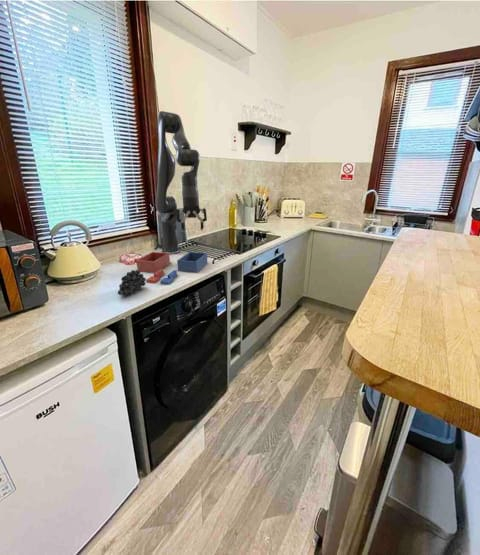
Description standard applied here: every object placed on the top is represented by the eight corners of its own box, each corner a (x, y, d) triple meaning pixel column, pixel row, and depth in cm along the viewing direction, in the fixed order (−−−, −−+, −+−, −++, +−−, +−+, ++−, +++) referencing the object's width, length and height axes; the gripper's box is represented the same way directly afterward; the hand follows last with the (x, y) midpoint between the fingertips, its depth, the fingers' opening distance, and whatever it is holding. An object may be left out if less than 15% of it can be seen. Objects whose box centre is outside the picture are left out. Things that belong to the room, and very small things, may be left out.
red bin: (137, 270, 139) (136, 260, 137) (153, 261, 152) (152, 251, 150) (155, 272, 136) (154, 261, 134) (170, 262, 150) (169, 253, 148)
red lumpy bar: (154, 282, 124) (153, 277, 123) (146, 282, 125) (146, 276, 124) (166, 274, 134) (165, 269, 133) (159, 273, 135) (158, 268, 134)
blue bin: (178, 270, 139) (177, 260, 137) (190, 261, 152) (189, 251, 150) (196, 272, 136) (196, 261, 134) (207, 263, 150) (207, 253, 148)
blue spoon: (168, 284, 122) (168, 279, 121) (160, 283, 123) (159, 278, 122) (179, 275, 133) (179, 270, 132) (172, 274, 133) (171, 269, 132)
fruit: (120, 279, 104) (143, 265, 117) (104, 283, 107) (129, 269, 120) (130, 299, 106) (151, 283, 120) (114, 302, 110) (137, 287, 123)
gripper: (205, 195, 133) (207, 228, 139) (175, 195, 131) (178, 229, 137) (205, 196, 126) (207, 231, 132) (174, 196, 124) (177, 232, 130)
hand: (192, 230), depth 134 cm, fingers open, 8 cm apart
